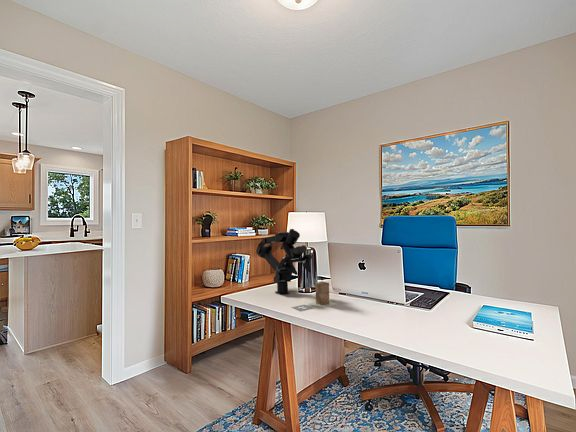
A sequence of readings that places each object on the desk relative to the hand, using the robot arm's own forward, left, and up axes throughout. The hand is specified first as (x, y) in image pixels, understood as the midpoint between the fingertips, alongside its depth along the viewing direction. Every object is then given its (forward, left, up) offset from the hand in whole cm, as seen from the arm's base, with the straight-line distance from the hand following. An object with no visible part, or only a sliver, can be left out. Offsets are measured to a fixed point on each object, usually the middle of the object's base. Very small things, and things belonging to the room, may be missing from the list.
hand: (303, 273), depth 161 cm
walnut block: (+13, +2, -13) cm, 18 cm away
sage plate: (+13, +2, -14) cm, 19 cm away
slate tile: (+13, -10, -14) cm, 21 cm away
